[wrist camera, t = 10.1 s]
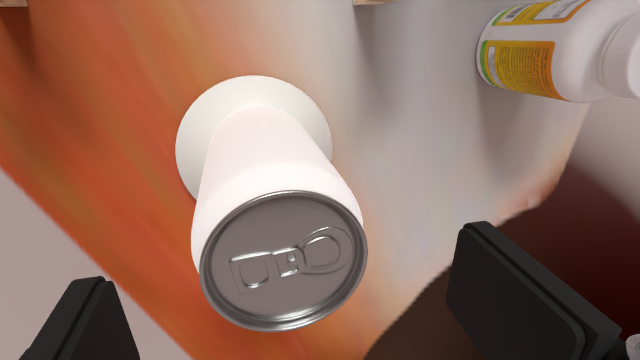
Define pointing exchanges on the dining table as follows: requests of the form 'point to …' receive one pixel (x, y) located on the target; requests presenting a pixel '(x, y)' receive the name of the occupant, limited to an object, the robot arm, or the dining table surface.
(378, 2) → the wooden arch stand
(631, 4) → the supplement bottle
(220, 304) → the can
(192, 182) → the coaster
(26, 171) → the dining table surface
